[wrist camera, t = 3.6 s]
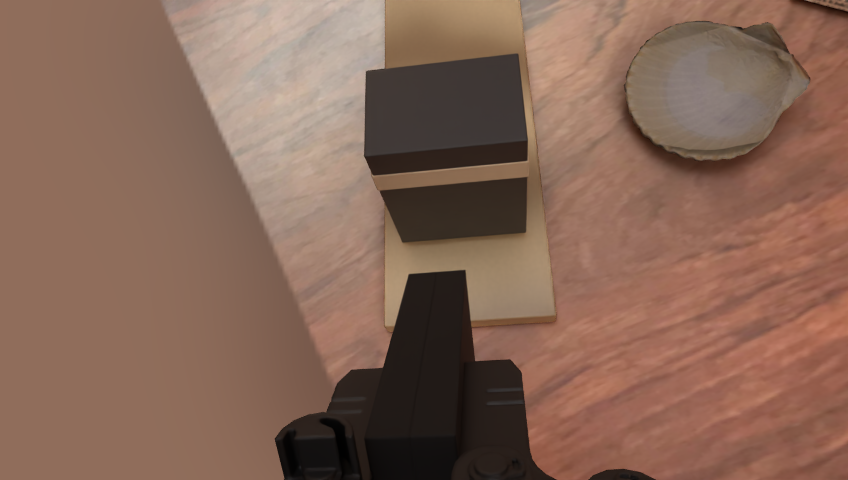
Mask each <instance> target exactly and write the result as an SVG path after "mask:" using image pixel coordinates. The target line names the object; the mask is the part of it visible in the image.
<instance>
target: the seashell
mask: <svg viewBox="0 0 848 480" xmlns="http://www.w3.org/2000/svg"><path fill="white" fill-rule="evenodd" d="M809 83H810V77H809V76H808V74H807V72H806V71H805V70H804V68H803V67H802V66H801V64H800V63H799V62H798V61H797V60H796V59H795V58H794V55H793V54H790V53H789V51H788V49H787V47H786V44H785V42H784V40H783V38H782V36H781V35H780V34H779V32H778V31H777V29H776V28H775V27H774V25H773V24H771V23H768V22H767V23H763V24H761V25H753V26H750V27H748V28H744V29H743V28H741V27H734V26H727V25H725V24H718V23H713V22H709V21H694V22H685V23H682V24H676V25H674V26H671V27H668V28H666V29H664V30H663V31H661V32H659V33H657V34H655V35H654V36H653V37H652V38H651V39H649V40H647V41H646V43H645V44H644V46H642V47H641V48H640V50H639V52H638V54H637V55H636V56H635V58H634V59H633V61H632V63H631V65H630V67H629V70H628V72H627V75H626V83H625V84H624V88H625V92H626V103H628V107H629V114H630V115H632V117H633V123H634V124H635V125H636V126H637V127H640V129H641V134H642V135H643V136H644V137H646V138H647V137H649V139H650V140H651V142H652V143H653V144H654V145H655V146H658V147H662V148H663V149H664V150H665V151H666V152H668V153H675V154H677V155H678V156H680V157H682V158H693V159H694V160H696V161H702V160H711V161H717V160H720V159H723V158H725V159H731V158H734V157H736V156H738V155H744V154H747V153H748V152H749V151H750V150H752V149H753V148H754V147H756V146H758V145H759V144H760V143H762V142H763V141H764V140H765V138H766V137H767V136H768V135H769V134H770V132H771V130H772V129H773V128H774V126H775V125H776V124H777V122H778V120H779V117H780V115H781V113H782V112H784V111H785V110H786V109H787V108H788V107H789V106H790V105H791V104H792V103H793V102H794V100H795V99H796V98H797V97H798V96H800V95H801V94H802V93H803V92H804V91H805V90H806V89H807V85H808V84H809Z"/></svg>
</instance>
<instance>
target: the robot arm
mask: <svg viewBox="0 0 848 480" xmlns="http://www.w3.org/2000/svg"><path fill="white" fill-rule="evenodd" d="M275 442H276V446H277V450H278V454H279V458H280V462H281V466H282V470H283V474H284V478H285V479H284V480H556V479H554V478H552V477H550V476H549V475H547V474H545V473H544V472H543V471H542V470H540V469H539V468H538V467H537V465H536V464H535V462H534V461H533V460H532V456H531V453H530V447H529V438H528V428H527V419H526V410H525V401H524V391H523V382H522V373H521V371H520V370H519V369H518V368H517V367H516V365H515V364H514V363H513V362H512V361H511V360H510V359H509V360H491V361H475V356H474V347H473V337H472V327H471V318H470V308H469V299H468V289H467V279H466V270H455V271H442V272H428V273H415V274H409V275H408V279H407V282H406V286H405V290H404V293H403V297H402V301H401V304H400V308H399V312H398V315H397V319H396V323H395V326H394V330H393V334H392V337H391V341H390V345H389V348H388V352H387V356H386V359H385V363H384V367H383V368H375V369H357V370H351V371H350V372H349V373H348V374H347V375H346V376H345V377H343V378H342V379H341V380H340V381H339V382H338V383H337V385H336V388H335V391H334V393H333V396H332V400H331V402H330V404H329V406H328V409H327V412H326V413H325V412H321V413H316V414H309V415H306V416H304V417H301V418H299V419H296V420H294V421H293V422H291V423H290V424H288V425H287V426H285V427H284V428H283V429H282V430H281V431H280V432H279V434H278V435H277V437H276V438H275ZM589 480H655V479H653V478H651V477H649V476H647V475H645V474H643V473H641V472H637V471H632V470H627V469H614V470H606V471H603V472H600V473H598V474H595V475H593V476H592V477H591V478H590V479H589Z"/></svg>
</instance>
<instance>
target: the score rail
mask: <svg viewBox="0 0 848 480" xmlns="http://www.w3.org/2000/svg"><path fill="white" fill-rule="evenodd" d="M515 53H518V55H519V63H520V72H521V81H522V90H523V99H524V108H525V117H526V126H527V135H528V156H529V175H528V177H527V226H526V233H515V234H503V235H490V236H478V237H466V238H454V239H441V240H429V241H417V242H404V243H403V242H402V241H401V238H400V236H399V234H398V231H397V229H396V227H395V225H394V222H393V220H392V218H391V216H390V213H389V211H388V209H387V207H386V204H385V229H384V326H385V328H386V329H387V331H388V332H393V330H394V326H395V323H396V319H397V315H398V312H399V308H400V304H401V301H402V297H403V293H404V290H405V286H406V282H407V279H408V275H409V274H415V273H428V272H442V271H455V270H466V279H467V289H468V299H469V308H470V318H471V327H477V326H493V325H509V324H525V323H540V322H554V321H555V320H556V315H557V314H556V305H555V297H554V288H553V280H552V271H551V263H550V254H549V246H548V237H547V229H546V220H545V212H544V203H543V195H542V186H541V178H540V169H539V161H538V152H537V144H536V135H535V127H534V118H533V110H532V101H531V93H530V84H529V76H528V67H527V58H526V50H525V41H524V33H523V24H522V16H521V7H520V0H385V69H387V68H395V67H404V66H412V65H421V64H429V63H438V62H447V61H455V60H464V59H472V58H481V57H489V56H498V55H506V54H515Z"/></svg>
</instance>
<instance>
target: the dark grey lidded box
mask: <svg viewBox="0 0 848 480" xmlns="http://www.w3.org/2000/svg"><path fill="white" fill-rule="evenodd" d="M364 157H365V159H366V161H367V163H368V166H369V168H370V170H371V176H372V178H373V181H374V183H375V185H376V187H377V190H379V191H380V193H381V195H382V197H383V200H384V202H385V204H386V207H387V209H388V211H389V213H390V216H391V218H392V220H393V222H394V225H395V227H396V229H397V231H398V234H399V236H400V238H401V241H402V242H403V243H404V242H417V241H429V240H441V239H454V238H466V237H478V236H490V235H503V234H515V233H526V226H527V177H528V175H529V156H528V135H527V126H526V117H525V108H524V99H523V90H522V81H521V72H520V63H519V55H518V53H515V54H506V55H498V56H489V57H481V58H472V59H464V60H455V61H447V62H438V63H429V64H421V65H412V66H404V67H395V68H387V69H378V70H370V71H366V92H365V145H364Z"/></svg>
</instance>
